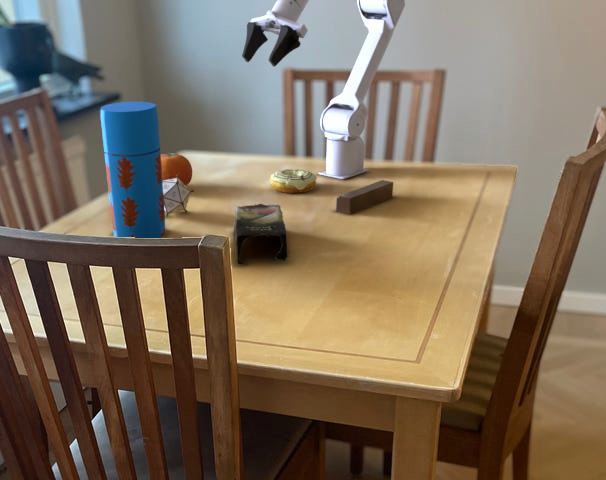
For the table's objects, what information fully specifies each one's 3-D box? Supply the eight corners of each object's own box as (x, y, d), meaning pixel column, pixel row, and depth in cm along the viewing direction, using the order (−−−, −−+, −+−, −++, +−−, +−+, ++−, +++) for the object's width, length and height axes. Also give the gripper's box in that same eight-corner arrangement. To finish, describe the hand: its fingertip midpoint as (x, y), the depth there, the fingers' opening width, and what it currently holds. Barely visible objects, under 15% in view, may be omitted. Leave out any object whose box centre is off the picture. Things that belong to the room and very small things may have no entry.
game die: (166, 231, 175) (135, 197, 170) (183, 208, 179) (154, 173, 175) (191, 218, 168) (160, 182, 164) (209, 194, 172) (178, 158, 168)
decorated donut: (307, 196, 181) (307, 180, 179) (263, 192, 185) (263, 176, 183) (321, 184, 189) (322, 168, 188) (280, 180, 193) (279, 165, 192)
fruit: (176, 197, 184) (174, 162, 180) (140, 192, 189) (137, 158, 185) (201, 185, 192) (199, 152, 188) (166, 181, 197) (164, 148, 193)
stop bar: (379, 194, 181) (379, 179, 179) (392, 197, 178) (393, 182, 177) (336, 211, 171) (336, 195, 169) (349, 214, 169) (350, 198, 167)
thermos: (157, 244, 156) (147, 112, 144) (106, 242, 158) (91, 112, 146) (171, 227, 165) (163, 101, 153) (122, 225, 167) (110, 101, 155)
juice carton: (232, 230, 162) (231, 200, 159) (280, 228, 162) (281, 199, 159) (234, 266, 145) (234, 234, 141) (288, 265, 145) (289, 232, 142)
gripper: (255, -10, 168) (224, 44, 168) (308, -6, 160) (275, 52, 159) (271, 13, 174) (240, 66, 174) (322, 19, 165) (290, 74, 165)
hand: (258, 61), depth 167 cm, fingers open, 7 cm apart
